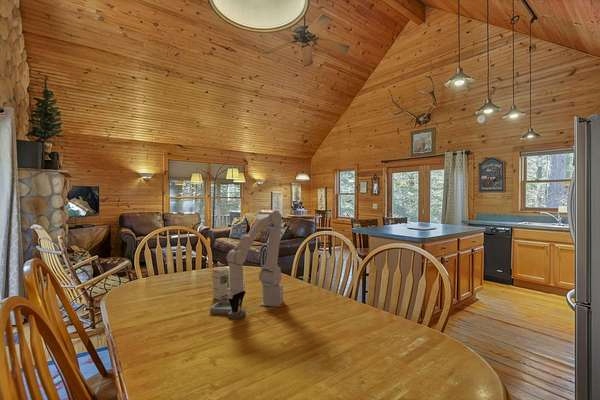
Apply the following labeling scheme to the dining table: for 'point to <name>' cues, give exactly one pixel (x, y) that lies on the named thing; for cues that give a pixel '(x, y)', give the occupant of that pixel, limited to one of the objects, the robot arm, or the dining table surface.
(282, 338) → the dining table surface
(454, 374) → the dining table surface
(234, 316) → the fuse socket
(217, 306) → the parts tray
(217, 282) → the syrup box
